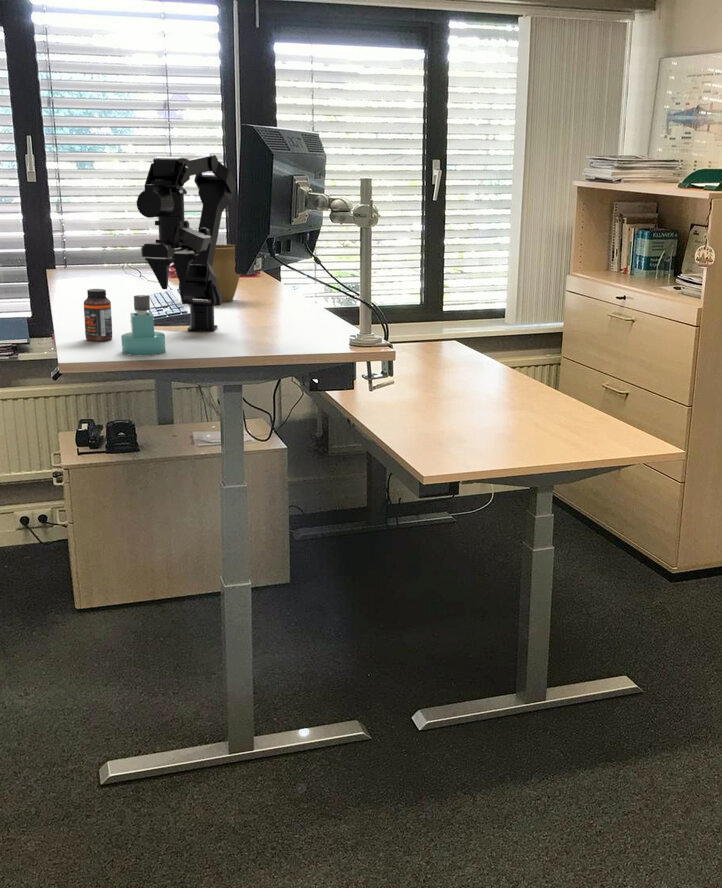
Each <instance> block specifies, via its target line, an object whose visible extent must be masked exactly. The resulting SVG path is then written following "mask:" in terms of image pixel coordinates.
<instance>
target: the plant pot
mask: <svg viewBox="0 0 722 888" xmlns="http://www.w3.org/2000/svg"><path fill="white" fill-rule="evenodd" d="M235 245H236V244H216V249H215V254H214V259H213V265H212V268H213V270H214V273H215V275H216V277H217V281H216V284H217V286H218V288H219V290H220V292H221V294H222V303H224V302H225V303H226V302H232V301H233V300H234V297H235V295H236V291H237V289H238V288H237V287H238V284H239V281H240V277H241V274H240V275H238V274H236V272H235ZM210 300H211V299H210Z"/></svg>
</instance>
